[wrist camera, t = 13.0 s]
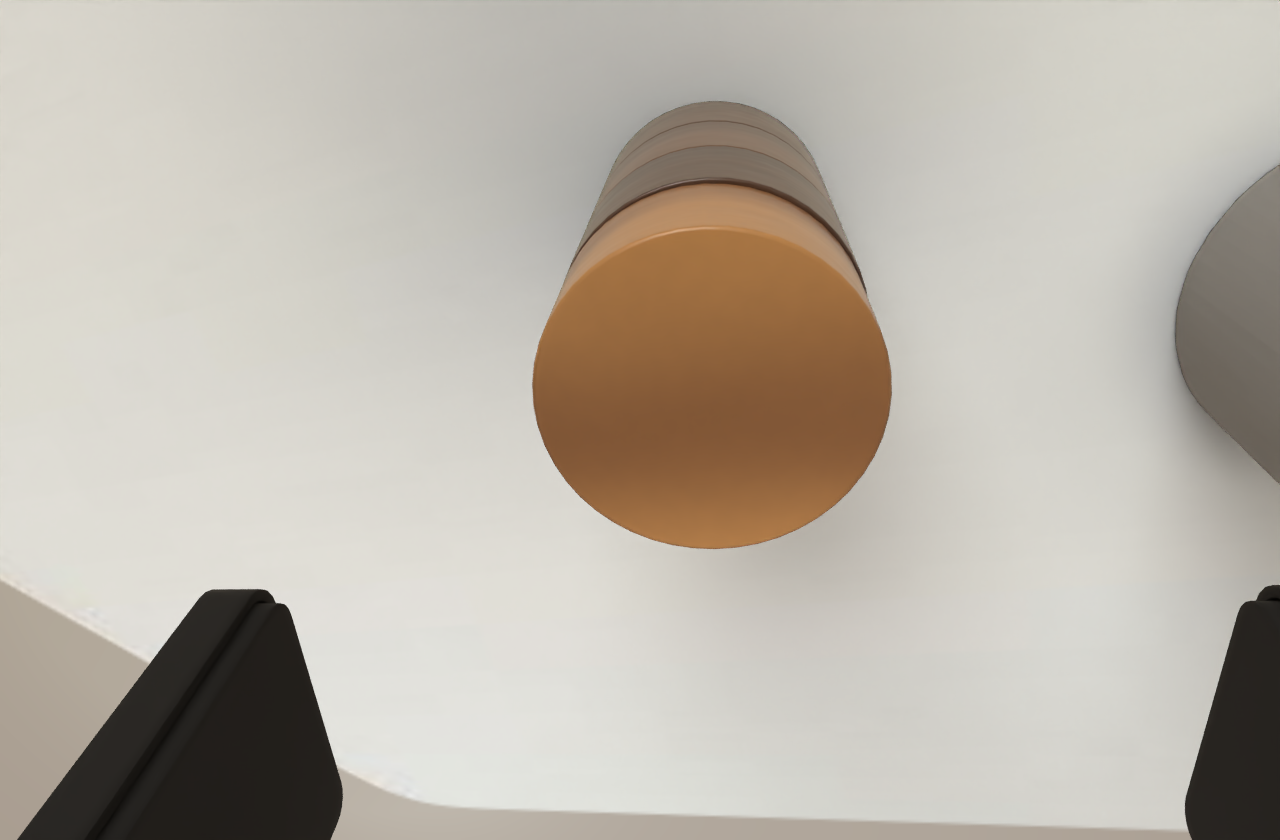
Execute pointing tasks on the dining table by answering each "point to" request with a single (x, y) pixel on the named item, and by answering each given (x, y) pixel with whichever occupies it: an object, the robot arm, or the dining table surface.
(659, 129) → the walnut chip
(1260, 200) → the coffee mug
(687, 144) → the walnut chip
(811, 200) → the walnut chip
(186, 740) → the robot arm
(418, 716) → the dining table surface
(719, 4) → the dining table surface
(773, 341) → the oak chip
